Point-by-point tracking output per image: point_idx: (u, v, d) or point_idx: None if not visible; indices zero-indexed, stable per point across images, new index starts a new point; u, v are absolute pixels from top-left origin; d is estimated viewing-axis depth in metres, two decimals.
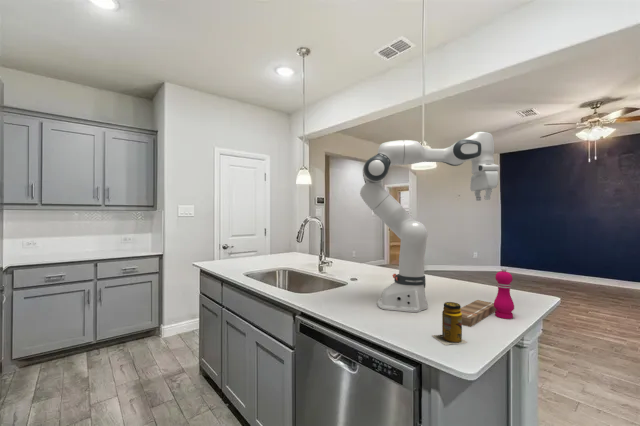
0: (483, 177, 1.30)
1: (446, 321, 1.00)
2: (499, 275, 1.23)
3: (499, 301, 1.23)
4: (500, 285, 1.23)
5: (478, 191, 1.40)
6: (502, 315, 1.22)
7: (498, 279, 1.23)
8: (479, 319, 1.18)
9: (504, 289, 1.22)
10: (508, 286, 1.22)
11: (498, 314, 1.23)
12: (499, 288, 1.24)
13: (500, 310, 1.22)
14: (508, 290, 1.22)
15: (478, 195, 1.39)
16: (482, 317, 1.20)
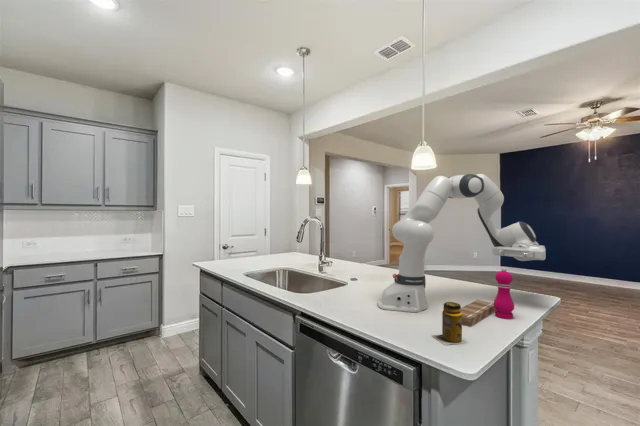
0: (531, 249, 1.35)
1: (446, 321, 1.00)
2: (499, 275, 1.23)
3: (499, 301, 1.23)
4: (500, 285, 1.23)
5: None
6: (502, 315, 1.22)
7: (498, 279, 1.23)
8: (479, 319, 1.18)
9: (504, 289, 1.22)
10: (508, 286, 1.22)
11: (498, 314, 1.23)
12: (499, 288, 1.24)
13: (500, 310, 1.22)
14: (508, 290, 1.22)
15: None
16: (482, 317, 1.20)
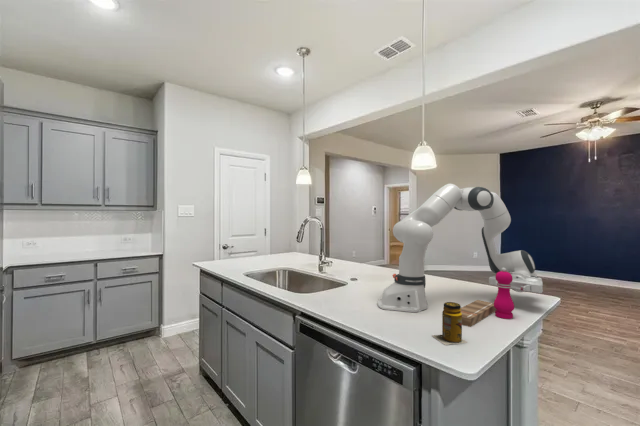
0: (528, 281, 1.33)
1: (446, 321, 1.00)
2: (499, 275, 1.23)
3: (499, 301, 1.23)
4: (500, 285, 1.23)
5: None
6: (502, 315, 1.22)
7: (498, 279, 1.23)
8: (479, 319, 1.18)
9: (504, 289, 1.22)
10: (508, 286, 1.22)
11: (498, 314, 1.23)
12: (499, 288, 1.24)
13: (500, 310, 1.22)
14: (508, 290, 1.22)
15: None
16: (482, 317, 1.20)
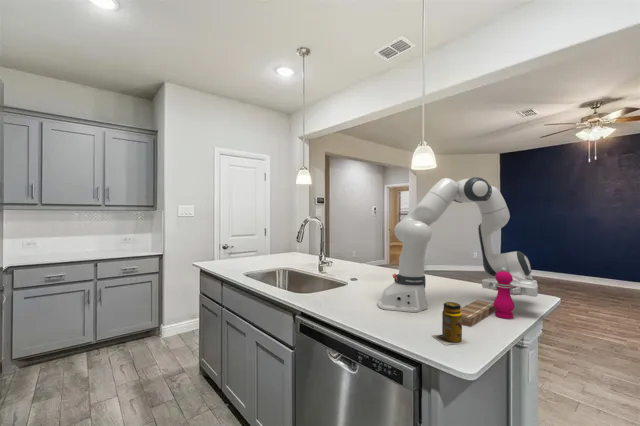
0: None
1: (446, 321, 1.00)
2: (499, 275, 1.23)
3: (499, 301, 1.23)
4: (500, 285, 1.23)
5: None
6: (502, 315, 1.22)
7: (498, 279, 1.23)
8: (479, 319, 1.18)
9: (504, 289, 1.22)
10: (508, 286, 1.22)
11: (498, 314, 1.23)
12: (499, 288, 1.24)
13: (500, 310, 1.22)
14: (508, 290, 1.22)
15: None
16: (482, 317, 1.20)
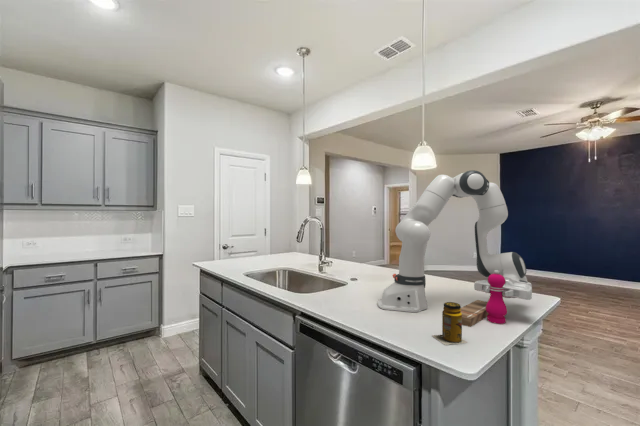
0: (516, 286, 1.21)
1: (446, 321, 1.00)
2: (491, 278, 1.18)
3: (491, 305, 1.17)
4: (492, 288, 1.18)
5: None
6: (494, 320, 1.16)
7: (490, 282, 1.18)
8: (479, 319, 1.18)
9: (497, 292, 1.17)
10: (501, 289, 1.16)
11: (490, 318, 1.18)
12: (491, 291, 1.18)
13: (492, 315, 1.17)
14: (501, 293, 1.17)
15: None
16: (482, 317, 1.20)
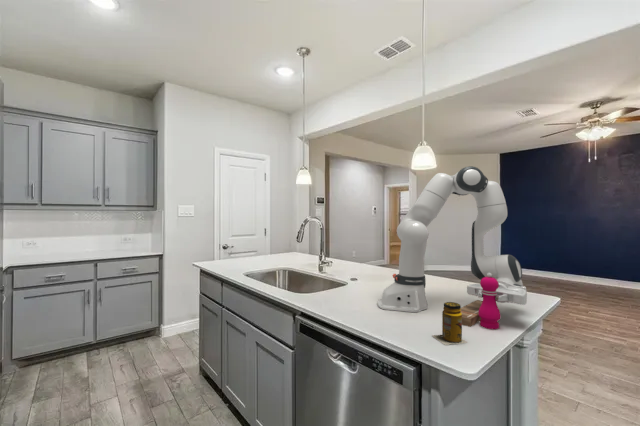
0: (510, 290, 1.16)
1: (446, 321, 1.00)
2: (484, 281, 1.12)
3: (484, 309, 1.12)
4: (485, 292, 1.12)
5: None
6: (487, 325, 1.11)
7: (483, 285, 1.12)
8: (479, 319, 1.18)
9: (490, 296, 1.11)
10: (494, 293, 1.11)
11: (483, 324, 1.12)
12: (484, 295, 1.13)
13: (485, 320, 1.12)
14: (494, 298, 1.11)
15: None
16: None
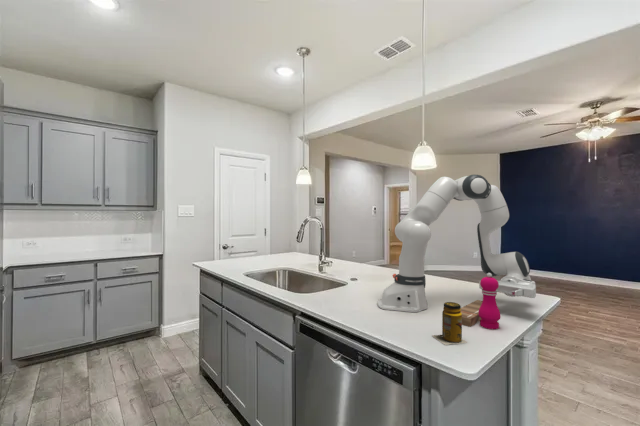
0: (520, 285, 1.24)
1: (446, 321, 1.00)
2: (484, 281, 1.12)
3: (484, 309, 1.12)
4: (485, 292, 1.12)
5: None
6: (487, 325, 1.11)
7: (483, 285, 1.12)
8: (479, 319, 1.18)
9: (490, 296, 1.11)
10: (494, 293, 1.11)
11: (483, 324, 1.12)
12: (484, 295, 1.13)
13: (485, 320, 1.12)
14: (494, 298, 1.11)
15: None
16: None
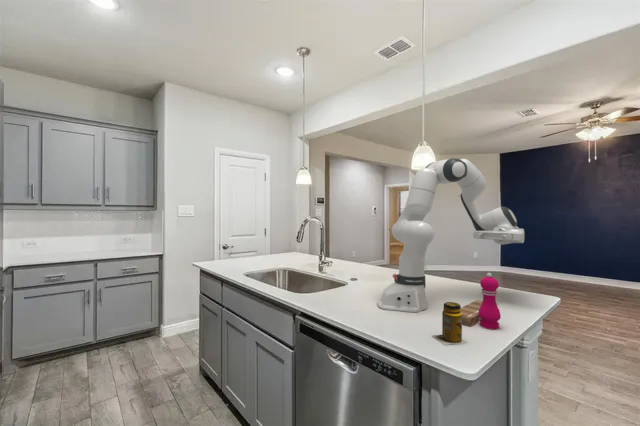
0: None
1: (446, 321, 1.00)
2: (484, 281, 1.12)
3: (484, 309, 1.12)
4: (485, 292, 1.12)
5: None
6: (487, 325, 1.11)
7: (483, 285, 1.12)
8: (479, 319, 1.18)
9: (490, 296, 1.11)
10: (494, 293, 1.11)
11: (483, 324, 1.12)
12: (484, 295, 1.13)
13: (485, 320, 1.12)
14: (494, 298, 1.11)
15: None
16: None
